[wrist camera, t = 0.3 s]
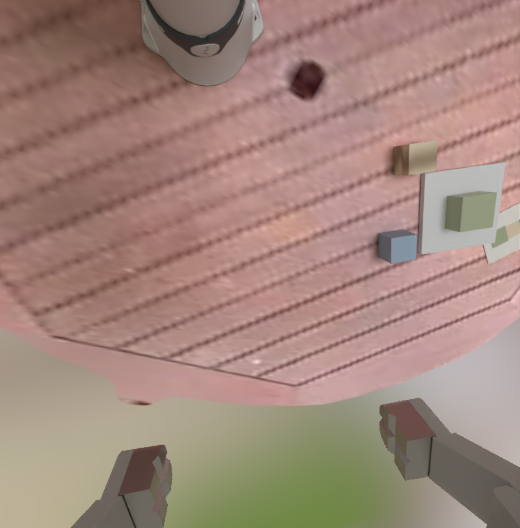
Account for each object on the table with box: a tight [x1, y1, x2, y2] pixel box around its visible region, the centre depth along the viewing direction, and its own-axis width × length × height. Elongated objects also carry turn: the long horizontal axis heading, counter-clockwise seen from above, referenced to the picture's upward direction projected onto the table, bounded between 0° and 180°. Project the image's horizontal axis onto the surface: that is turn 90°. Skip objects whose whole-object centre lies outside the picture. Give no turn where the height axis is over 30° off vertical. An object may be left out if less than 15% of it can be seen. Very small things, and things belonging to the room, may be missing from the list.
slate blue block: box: [379, 230, 417, 264], centre depth 57 cm, size 5×5×5 cm
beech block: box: [394, 141, 438, 175], centre depth 52 cm, size 5×5×5 cm
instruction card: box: [483, 202, 520, 264], centre depth 61 cm, size 10×14×1 cm
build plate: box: [418, 162, 505, 254], centre depth 56 cm, size 16×16×5 cm
